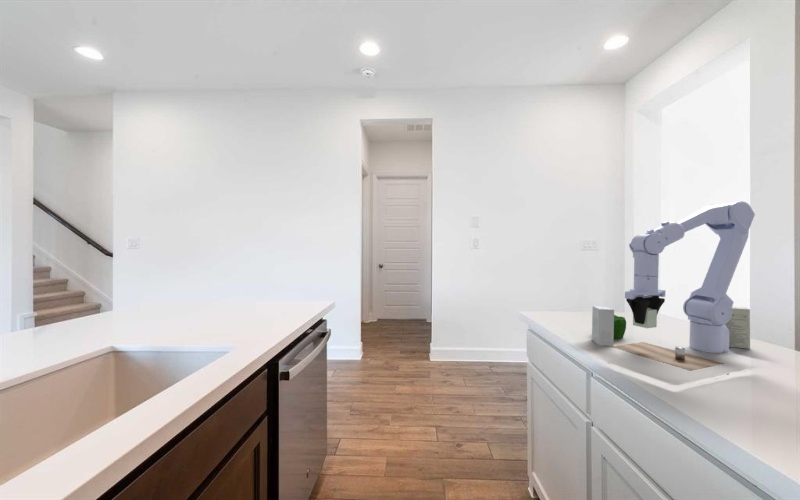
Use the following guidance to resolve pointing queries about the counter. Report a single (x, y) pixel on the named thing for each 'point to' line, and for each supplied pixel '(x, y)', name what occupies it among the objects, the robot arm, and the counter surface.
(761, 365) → the counter surface
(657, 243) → the robot arm
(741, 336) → the skincare box
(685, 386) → the counter surface
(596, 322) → the skincare box
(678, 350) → the post
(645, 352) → the board
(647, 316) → the sage cube with dome
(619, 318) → the bell pepper
